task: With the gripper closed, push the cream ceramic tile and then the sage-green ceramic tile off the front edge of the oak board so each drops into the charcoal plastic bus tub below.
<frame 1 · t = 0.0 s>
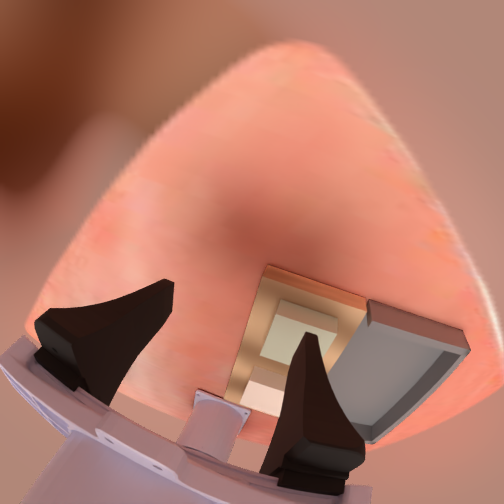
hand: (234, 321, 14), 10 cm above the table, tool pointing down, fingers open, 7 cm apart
cream tile: (271, 386, 28), point 2 cm above the table, touching oak board
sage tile: (299, 330, 23), point 2 cm above the table, touching oak board
oak board: (284, 354, 28), on the table
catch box: (374, 380, 26), on the table
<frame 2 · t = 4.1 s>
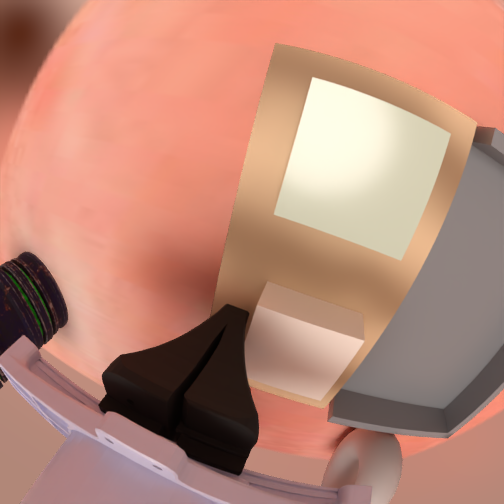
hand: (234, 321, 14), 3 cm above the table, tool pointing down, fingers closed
donut: (361, 428, 20), on the table
cream tile: (299, 334, 14), point 2 cm above the table, touching gripper
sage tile: (359, 164, 10), point 2 cm above the table, touching oak board
oak board: (318, 259, 14), on the table
storage jar: (42, 289, 25), on the table
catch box: (468, 314, 13), on the table
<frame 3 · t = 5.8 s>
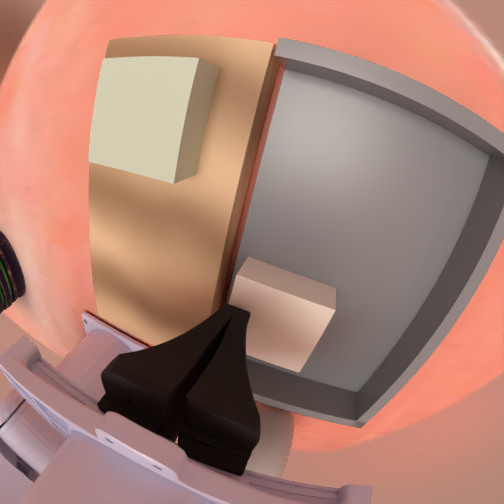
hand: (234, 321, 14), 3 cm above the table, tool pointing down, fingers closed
donut: (270, 405, 21), on the table
cream tile: (278, 307, 16), resting on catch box
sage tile: (159, 113, 11), point 2 cm above the table, touching oak board
oak board: (165, 208, 16), on the table
storage jar: (8, 262, 26), on the table
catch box: (347, 269, 14), on the table
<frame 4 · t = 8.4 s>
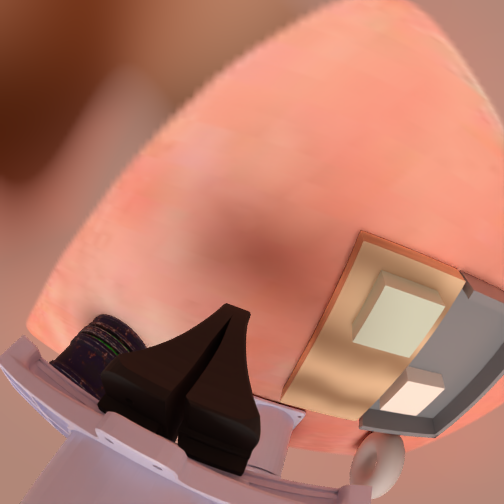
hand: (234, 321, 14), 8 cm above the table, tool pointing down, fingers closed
donut: (376, 431, 28), on the table
cream tile: (410, 385, 23), resting on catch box
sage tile: (395, 308, 18), point 2 cm above the table, touching oak board
oak board: (362, 342, 23), on the table
storage jar: (121, 343, 33), on the table
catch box: (447, 365, 21), on the table
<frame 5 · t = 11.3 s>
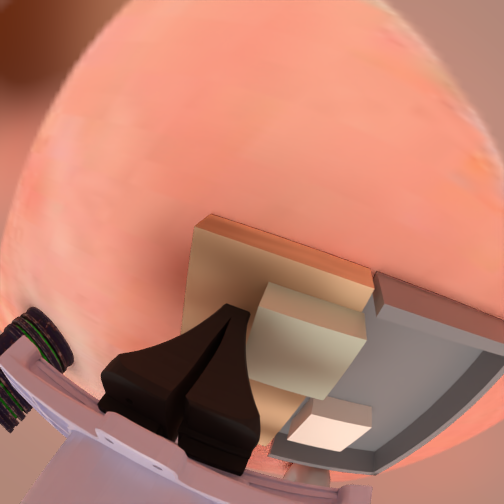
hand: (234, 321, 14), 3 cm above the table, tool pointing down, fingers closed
donut: (308, 457, 25), on the table
cream tile: (330, 415, 19), resting on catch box
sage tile: (301, 334, 14), point 2 cm above the table, touching gripper, oak board
oak board: (249, 358, 19), on the table
storage jar: (50, 335, 29), on the table
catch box: (381, 396, 17), on the table
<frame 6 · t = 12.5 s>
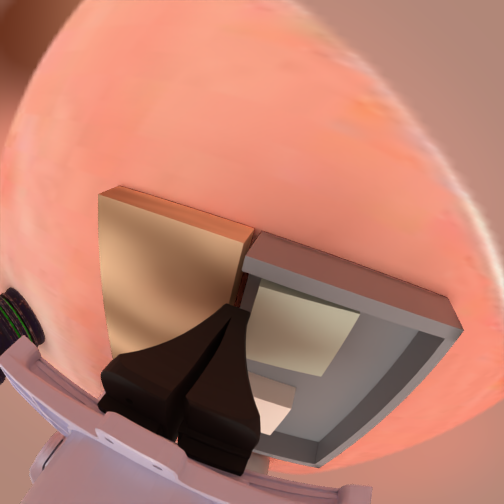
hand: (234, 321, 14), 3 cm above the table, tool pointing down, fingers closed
donut: (254, 443, 25), on the table
cream tile: (255, 393, 20), resting on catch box
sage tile: (296, 314, 15), point 1 cm above the table, tilted 5°, touching gripper
oak board: (167, 324, 20), on the table
storage jar: (26, 315, 30), on the table
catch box: (304, 376, 18), on the table
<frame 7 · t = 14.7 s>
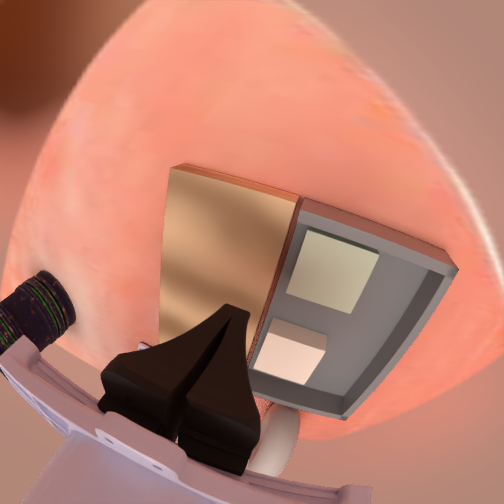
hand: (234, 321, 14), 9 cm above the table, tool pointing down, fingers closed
donut: (283, 405, 30), on the table
cream tile: (291, 345, 24), resting on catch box
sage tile: (331, 261, 20), resting on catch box
oak board: (216, 284, 24), on the table
storage jar: (56, 297, 35), on the table
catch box: (334, 324, 23), on the table
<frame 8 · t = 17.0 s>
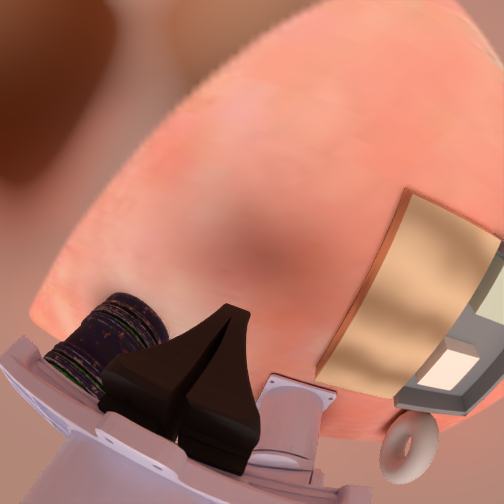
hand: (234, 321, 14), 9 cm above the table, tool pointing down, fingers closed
donut: (405, 413, 27), on the table
cream tile: (445, 357, 22), resting on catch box
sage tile: (497, 285, 17), resting on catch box
oak board: (402, 309, 21), on the table
storage jar: (136, 324, 32), on the table
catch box: (480, 335, 20), on the table
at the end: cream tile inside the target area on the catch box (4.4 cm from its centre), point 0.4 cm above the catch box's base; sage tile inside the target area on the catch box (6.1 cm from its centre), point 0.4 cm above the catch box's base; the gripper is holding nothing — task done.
